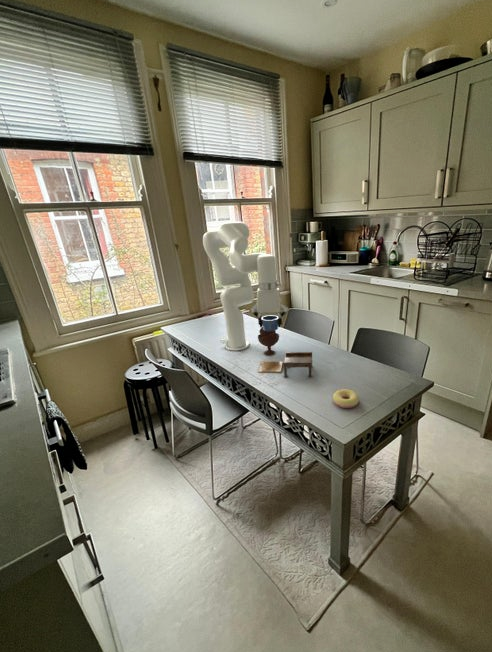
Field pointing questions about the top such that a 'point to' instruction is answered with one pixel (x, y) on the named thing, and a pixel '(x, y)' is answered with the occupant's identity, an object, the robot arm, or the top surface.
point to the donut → (345, 402)
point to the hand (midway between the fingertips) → (270, 326)
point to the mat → (271, 367)
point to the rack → (298, 361)
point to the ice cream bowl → (268, 340)
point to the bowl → (270, 323)
